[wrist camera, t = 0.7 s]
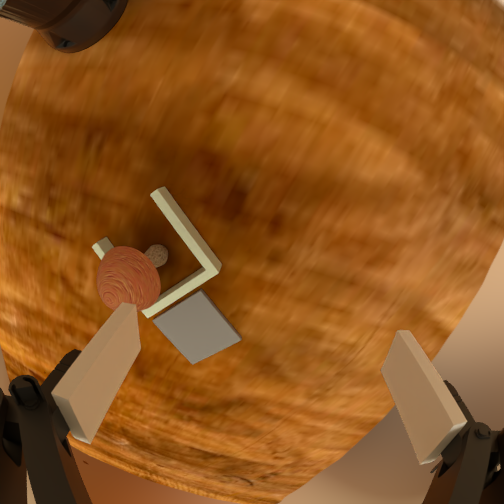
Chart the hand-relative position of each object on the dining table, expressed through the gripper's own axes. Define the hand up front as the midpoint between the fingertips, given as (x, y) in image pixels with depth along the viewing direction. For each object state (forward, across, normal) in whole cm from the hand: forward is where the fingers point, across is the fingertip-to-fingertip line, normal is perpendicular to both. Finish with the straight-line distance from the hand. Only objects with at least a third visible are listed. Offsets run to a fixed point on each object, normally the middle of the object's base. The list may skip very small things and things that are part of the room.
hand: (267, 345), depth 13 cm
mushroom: (+26, -15, -6) cm, 31 cm away
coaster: (+26, -8, -18) cm, 33 cm away
